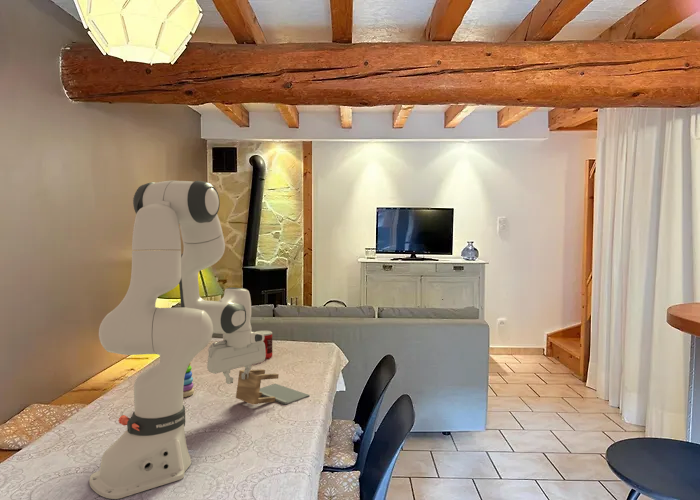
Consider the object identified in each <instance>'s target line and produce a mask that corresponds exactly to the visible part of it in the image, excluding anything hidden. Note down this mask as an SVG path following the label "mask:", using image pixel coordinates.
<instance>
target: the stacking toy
mask: <svg viewBox="0 0 700 500" xmlns="http://www.w3.org/2000/svg"><path fill="white" fill-rule="evenodd" d="M191 364H192V361H191V362H190V364H189V366H188V368H187V370H186V373H185V377H184V386H183V398H187V397H190V396H192V395H193V394H195V389H194V377H193V372H192V368H193V367H192V366H191Z"/></svg>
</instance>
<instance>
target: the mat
mask: <svg viewBox="0 0 700 500" xmlns="http://www.w3.org/2000/svg"><path fill="white" fill-rule="evenodd" d="M259 392H262V397H261V398H263V397H272V396H273V397H276V399H275V402H274V403H278V404H281V405H284V406H287V405H289V404H292V403H294V402H295V403H296V402H298V401H300V400H303V399H306V398H309V397H310V396H311V395H310V394H307V393H304V392H302V391H298V390H295V389H293V388H290V387H287V386H284V385H281V384H278V383H273V384H269V385H266V386H263V387H260V391H259Z"/></svg>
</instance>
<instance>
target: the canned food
mask: <svg viewBox="0 0 700 500" xmlns="http://www.w3.org/2000/svg"><path fill="white" fill-rule="evenodd" d="M255 332H257V333H260V334H263V335H264V340H263V342H264V343H265V352H266V356H265V360H269V359H271V358H272V357H273V332H272V331H271V330H257V331H255Z"/></svg>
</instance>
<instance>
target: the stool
mask: <svg viewBox="0 0 700 500" xmlns="http://www.w3.org/2000/svg"><path fill="white" fill-rule="evenodd" d="M244 370H245V369H240V370H239V372H238V380H237V385H236V386H237V387H236V393H235V399H238V400H239V401H243V402H245V403H248V404H251V406H252V405H253V406H254V405H259V404H266V403H276V402H275V399H276V397H273V396H272V397H262V392H259V391H260V388H261V382H262V380H263V381H265V380H274V379H275V380H276V379H277V380H278V379H279V375H280V374H279V373H266V369H263V368H262V369H261V368H260V369H258V368H257V369H251V370H250V372H249V374H248V379H245V380H244V379H242V376H241V374H242V373H244Z"/></svg>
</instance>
